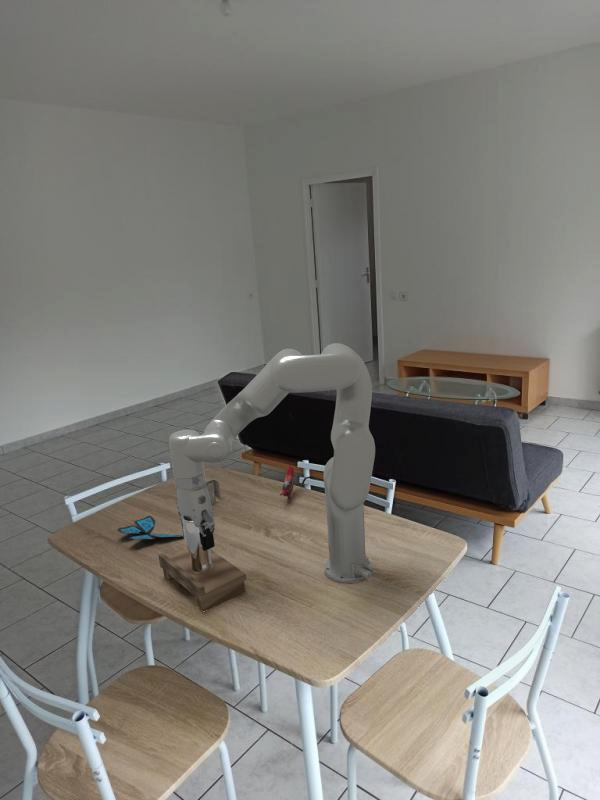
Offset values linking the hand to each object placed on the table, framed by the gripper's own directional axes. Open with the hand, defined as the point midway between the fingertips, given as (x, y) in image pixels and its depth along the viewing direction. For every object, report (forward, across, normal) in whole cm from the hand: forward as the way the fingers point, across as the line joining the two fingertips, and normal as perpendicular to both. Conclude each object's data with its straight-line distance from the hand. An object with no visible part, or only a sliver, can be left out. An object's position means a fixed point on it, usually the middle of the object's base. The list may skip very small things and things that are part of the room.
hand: (198, 541), depth 148 cm
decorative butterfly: (+13, +36, -1) cm, 38 cm away
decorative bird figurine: (+13, +23, -46) cm, 53 cm away
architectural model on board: (+13, +41, -24) cm, 50 cm away
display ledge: (+12, 0, 0) cm, 12 cm away
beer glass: (+8, 0, 0) cm, 8 cm away
